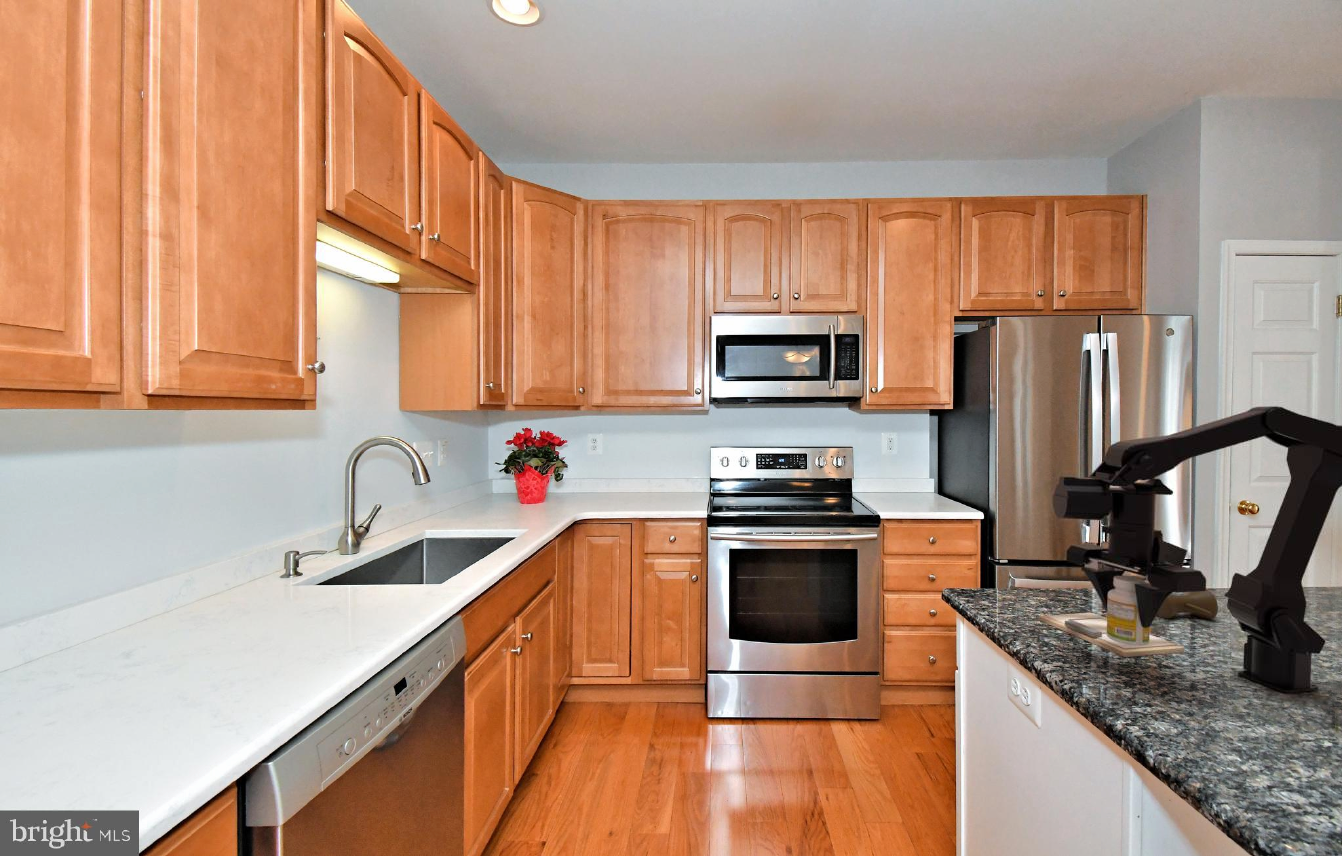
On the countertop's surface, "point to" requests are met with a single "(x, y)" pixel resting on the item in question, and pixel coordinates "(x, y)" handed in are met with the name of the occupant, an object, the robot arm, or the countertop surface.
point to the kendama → (1189, 604)
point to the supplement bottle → (1125, 613)
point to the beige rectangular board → (1096, 633)
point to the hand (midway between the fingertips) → (1128, 620)
